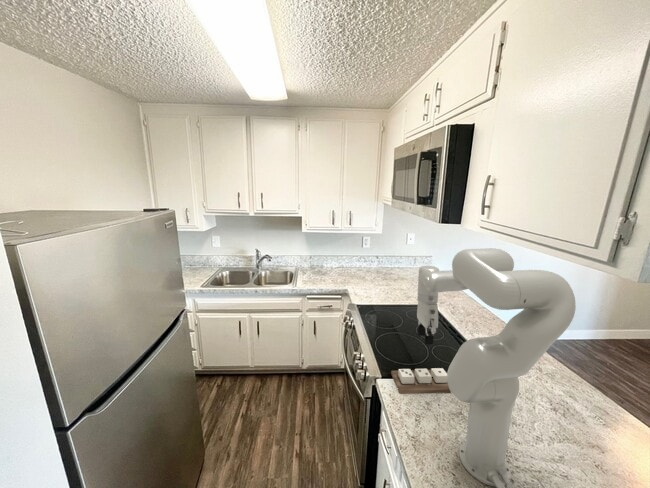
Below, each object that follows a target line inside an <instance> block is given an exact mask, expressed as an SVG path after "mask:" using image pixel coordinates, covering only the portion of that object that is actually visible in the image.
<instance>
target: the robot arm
mask: <svg viewBox="0 0 650 488" xmlns="http://www.w3.org/2000/svg"><path fill="white" fill-rule="evenodd" d="M451 262H452V263H451V270H450V269H449V270H440V269H439V267H436V266H434V265H433V266H432V265H422V266H420V267H419V269H418V277H417V278H418V279H417V282H418V284H417V299H416V300H417V301H418V302H417V309H416V317H417V321H418V322H417V326H418V327H417V336H421V337H422V336H424V342H423V343H424V344H425V345H426V346H427V345H429V346H430V345H434V336H435V334H436V333H437V329H439V309H438V308H439V307H438V303H439V302H438V301H439V293H443V292H447V293H448V292H460V291H466V290H469V291H470V292H472V293H473V294H474V295H475V296H476V297H477V298H478V299H479V300H480V301H481V302H483V303H484V304H485V305H487V306H489V307H491V308H492V309H496V310H499V311H511V310H521V311H520V312H518V313H516V314H515V315H514V316H513V317H511V318H510V319H509V320H508V321H507V323H506V325H505V326H504V327H503V329H502V330H501V331H500V332H499V333H498V334H496V335H491V336H490V335H489V336H482V337H474V338H470V339H467V340H466V341H464V342H463V343H462V344H461V345H460V347H459V348H458V350H457V352H456V354H455V356H454V357H453V359H452V361H451V363H450V364H449V366H448V369H447V371H446V373H447V383H448V387H449V389H450V391H451V395H453V396H454V398H455V399H457V400H458V401H459V402H462V403H465V404H469V408H468V418H467V419H468V421H467V427H466V428H467V430H466V441H464V442H462V444H460V447H459V449H458V450H459V451H458V456H459V460H460V462H461V464H462V466H463V467H464V468H465V470H466V471H467V473H469V474H470V475H471V476H472V477H474V478H475V480H478V481H480V482H481V483H482V484H485V485H487V486H491V487H496V488H512V487H513V484H512V482H511V476H512V472H511V467H510V465H509V463H508V461H507V460H506V458H507V457H506V456H507V450H508V449H507V448H508V441H509V435H510V434H509V433H510V426H511V418H512V412H513V408H514V406H515V403H516V400H517V398H518V396H519V391H520V379H519V377H523V376H525V375H527V374H528V373H529V372H530V371H531V369H533V367H534V366H535V365H536V364H537V362H539V360H541V359H542V357H543V356H544V354H546V352H547V351H548V350H549V349H550V348H551V346H552V345H553V344H554V343H555V342H556V341H557V340H558V339H559V338H560V337H561V336H562V335H563V334H564V333H565V331H566V330H567V329H568V327H569V326H570V325H571V324H572V321H573V320H574V317H575V314H576V308H577V307H576V305H577V304H576V297H575V293H574V291H573V288H572V287H571V285H570V284H569V282H568V281H567V279H565V278H564V277H562V276H561V275H560V274H557V273H555V272H552V271H549V270H542V269H523V270H521V269H519V270H514V268H515V261H514V259H513V256H511V254H510V253H508V251H505V250H502V249H500V248H496V247H495V248H492V247H491V248H487V247H486V248H469V249H468V248H467V249H463V250H460V251H458V252H457V253H456V254H455V255H454V257H453V259H452V261H451ZM429 329H430V330H429ZM447 383H446V384H447Z"/></svg>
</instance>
